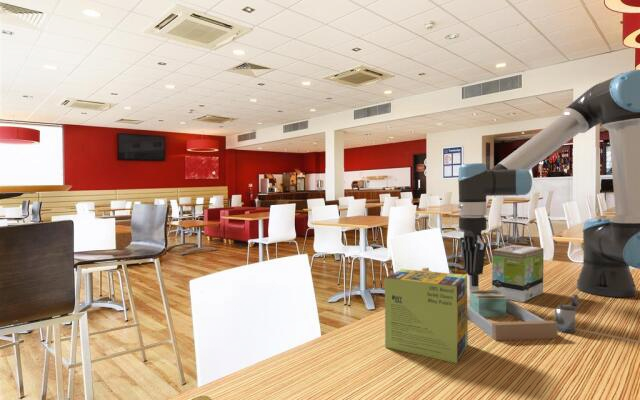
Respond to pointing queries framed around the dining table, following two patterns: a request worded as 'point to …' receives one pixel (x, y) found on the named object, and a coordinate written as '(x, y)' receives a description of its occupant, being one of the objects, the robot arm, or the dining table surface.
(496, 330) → the bay
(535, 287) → the tea box
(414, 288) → the protein box
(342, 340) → the dining table surface
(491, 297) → the crate
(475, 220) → the robot arm
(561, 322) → the winch drum
